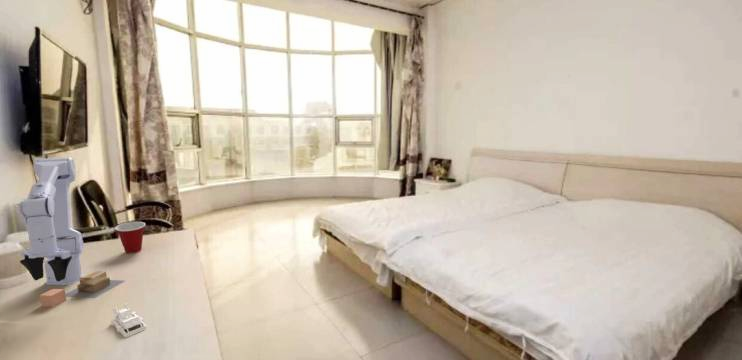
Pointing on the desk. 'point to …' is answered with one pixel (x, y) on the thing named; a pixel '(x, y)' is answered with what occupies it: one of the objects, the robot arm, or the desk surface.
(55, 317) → the desk surface
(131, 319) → the toy car
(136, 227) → the plastic cup
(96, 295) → the mat
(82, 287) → the tower base
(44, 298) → the cube
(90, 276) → the tower middle
